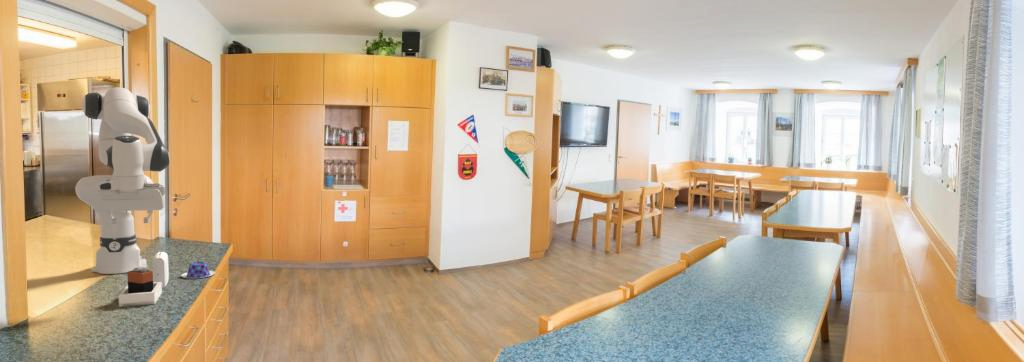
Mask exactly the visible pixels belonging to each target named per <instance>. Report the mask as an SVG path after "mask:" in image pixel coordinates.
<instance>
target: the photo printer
mask: <svg viewBox="0 0 1024 362" xmlns="http://www.w3.org/2000/svg"><path fill="white" fill-rule="evenodd" d="M152 271H153V283H155V282H162V289H163V288H165V287H166V286H167V284H169V283H168V282H169V280H170V279H169V278H170V276H169V275H170V274H169V255H168V253H167V252H165V251H158V252H156V253H155V254H154V256H153V258H152Z"/></svg>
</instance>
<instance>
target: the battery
mask: <svg viewBox="0 0 1024 362" xmlns="http://www.w3.org/2000/svg"><path fill="white" fill-rule="evenodd" d="M126 273H127V285H128V294H130V293H143V292H152V290H153V270H151V269H150V270H149V269H148V268H142V269H139V268H134V270H132V271H128V272H126Z"/></svg>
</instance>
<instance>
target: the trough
mask: <svg viewBox="0 0 1024 362" xmlns="http://www.w3.org/2000/svg"><path fill="white" fill-rule="evenodd" d="M162 294H163V288H162V282H155V283H153V290H152V292H143V293H130V294H128V284H127V285H126V286H125V287H124V289H122V291H120V293H119V294H118V307H119V308H122V307H136V306H146V305H147V306H148V305H155V304H156V303H157V301H158V300H159V298H160V297H161V295H162Z"/></svg>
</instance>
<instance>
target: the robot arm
mask: <svg viewBox="0 0 1024 362" xmlns="http://www.w3.org/2000/svg"><path fill="white" fill-rule="evenodd" d="M81 109H82V112H83V113H84V116H85V117H87V118H88V119H92V120H95V121H96V120H101V122H100V125H99V132H98V158H99V159H98V160H99V161H100V162H101V163H102V164H104V165H105V166H107V167H108V168H110V169H111V170H113V171H112V174H109V175H107V174H105V175H104V174H102V175H101V174H99V175H90V176H85V177H81V178H80V179H79V180H78V181H77V183H76V185H75V188H74V189H75V190H74V191H75V195H76V196H77V198H78V199H79V200H80V201H81V202H84V203H85V204H87V205H88V206H90V207H91V208H92V209H93V211H94V212H95V214H97V217H98V219H99V226H100V234H101V235H100V238H99V246H100V247H99V248H98V249H97V250H96V252H95V267H93V268H91V269H90V272H91V273H97V274H103V275H111V274H114V275H115V274H123V273H124V274H125V273H127V272H128V271H132V270H134V268H139V269H142V268H147V267H148V265H147V259H146V258H143V256H142V255H141V249H140V247H139V245H138V244H137V242H138V241H137V235H136V233H135V218H134V216H133V214H132V213H130V212H133V211H134V212H135V211H138V212H139V211H141V212H142V211H146V213H147V214H148V215H147V216H145V217H144V218H143V223H144V224H149V223H150V218H151V216H152V215H153V213H154V211H161V210H163V209H164V208H165V203H166V202H165V197H164V196H165V193H166V189H165V186H164V185H162V184H160V183H154V181H153V180H152V179H151V177H149V176H148V175H146V174H145V172H162V171H164V170H165V169H167V168H168V167H169V165H170V159H171V157H170V152H169V150H168V148H167V146H166V145H165V144H164V142H163V140H162V138H161V135H159V132H158V130H157V128H156V127H155V124H154V122H153V121H152V120H151V118H150V117H149V116H150V113H151V105H150V102H149V100H148V98H146V97H144V96H142V95H134V94H133V93H132V92H131V91H130V90H129V89H127V88H125V87H120V86H119V87H118V86H116V87H111V88H110V89H108V90H107V91H106V92H102V93H101V92H99V93H98V92H88V93H87V94H85V95H84V97H83V99H82V100H81ZM134 135H135V136H134ZM137 136H138V137H137ZM140 137H141V138H143V139H144V140H145V142H146V143H142V141H141V139H140ZM129 211H130V212H129ZM147 269H148V268H147Z"/></svg>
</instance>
